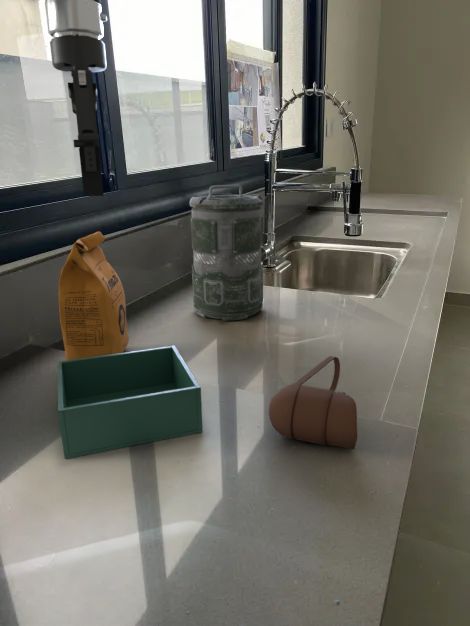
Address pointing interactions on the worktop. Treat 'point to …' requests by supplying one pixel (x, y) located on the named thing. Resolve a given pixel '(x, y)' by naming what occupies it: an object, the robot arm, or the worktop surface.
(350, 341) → the worktop surface
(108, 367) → the green open box
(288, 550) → the worktop surface
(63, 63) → the robot arm
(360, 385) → the worktop surface
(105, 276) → the coffee package
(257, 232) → the canister
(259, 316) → the worktop surface
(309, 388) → the brown strapped handbag
